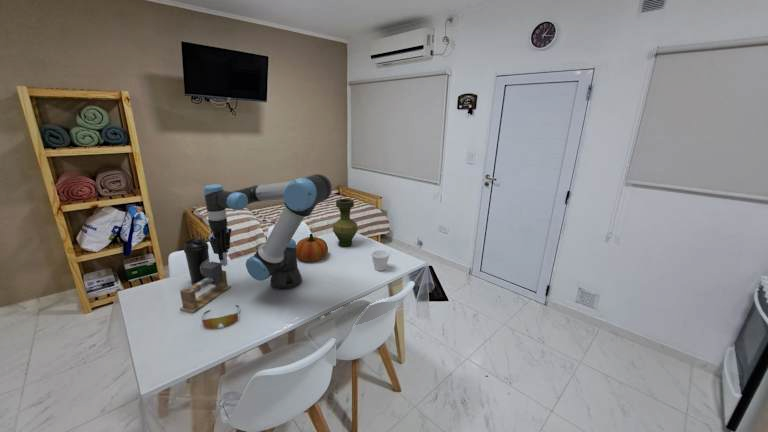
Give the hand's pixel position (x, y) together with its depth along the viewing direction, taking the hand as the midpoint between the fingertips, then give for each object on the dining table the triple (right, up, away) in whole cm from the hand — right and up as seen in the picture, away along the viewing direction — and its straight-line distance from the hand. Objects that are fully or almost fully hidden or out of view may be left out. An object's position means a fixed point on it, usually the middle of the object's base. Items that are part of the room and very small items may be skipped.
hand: (224, 264), depth 149 cm
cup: (+75, -6, +24) cm, 79 cm away
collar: (-2, -7, -5) cm, 9 cm away
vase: (+52, +4, +56) cm, 76 cm away
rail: (-3, -14, -8) cm, 16 cm away
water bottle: (-13, -10, +5) cm, 17 cm away
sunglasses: (+10, -19, -21) cm, 30 cm away
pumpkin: (+34, -1, +37) cm, 50 cm away
